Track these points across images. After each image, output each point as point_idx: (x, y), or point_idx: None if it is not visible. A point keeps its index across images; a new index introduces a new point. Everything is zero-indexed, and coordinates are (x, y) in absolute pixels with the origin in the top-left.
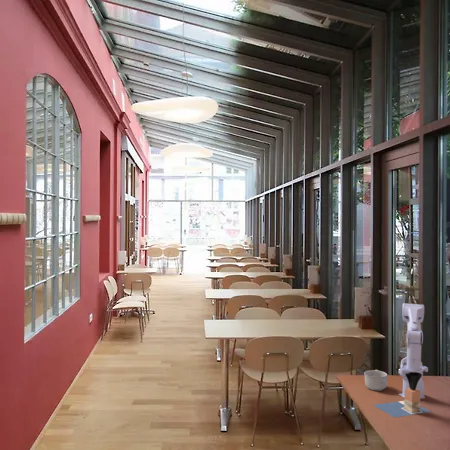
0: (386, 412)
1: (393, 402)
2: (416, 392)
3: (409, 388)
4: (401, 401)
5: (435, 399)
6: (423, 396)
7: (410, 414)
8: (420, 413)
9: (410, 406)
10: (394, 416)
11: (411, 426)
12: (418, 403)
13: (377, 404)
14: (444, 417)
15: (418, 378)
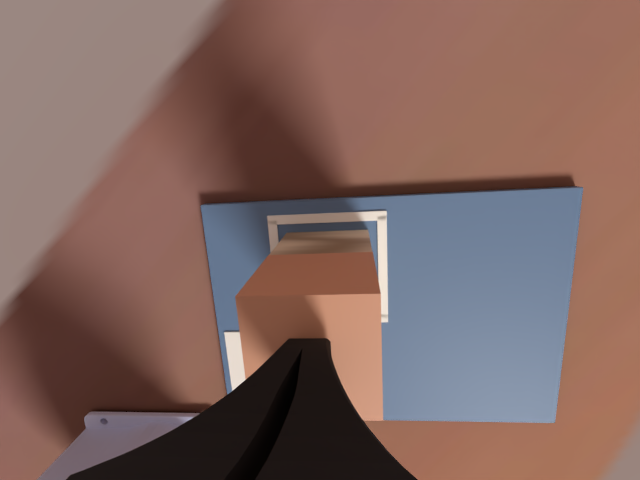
0: (566, 286)
1: None
2: (306, 290)
3: None
4: None
5: (29, 385)
6: (89, 430)
7: (402, 203)
8: (306, 200)
9: None
10: (566, 204)
11: (558, 12)
12: (291, 250)
13: (512, 420)
14: (154, 109)
15: (199, 445)
